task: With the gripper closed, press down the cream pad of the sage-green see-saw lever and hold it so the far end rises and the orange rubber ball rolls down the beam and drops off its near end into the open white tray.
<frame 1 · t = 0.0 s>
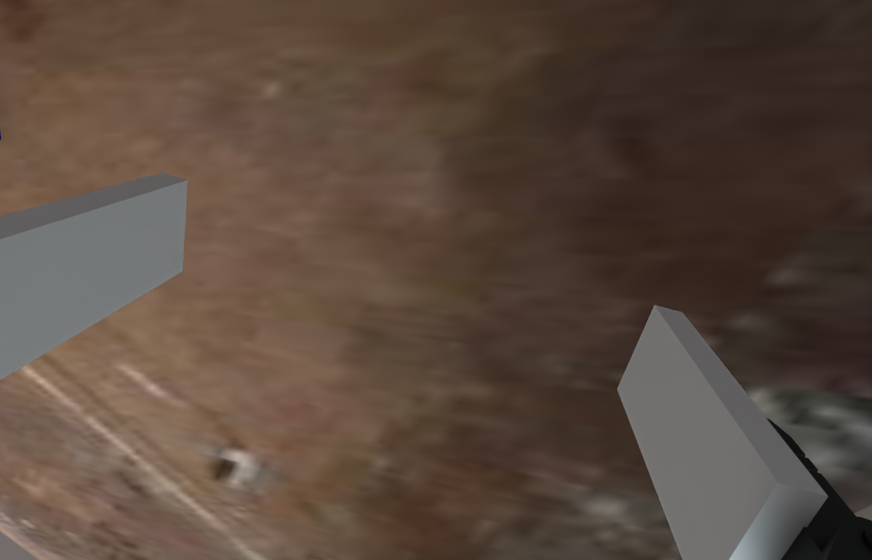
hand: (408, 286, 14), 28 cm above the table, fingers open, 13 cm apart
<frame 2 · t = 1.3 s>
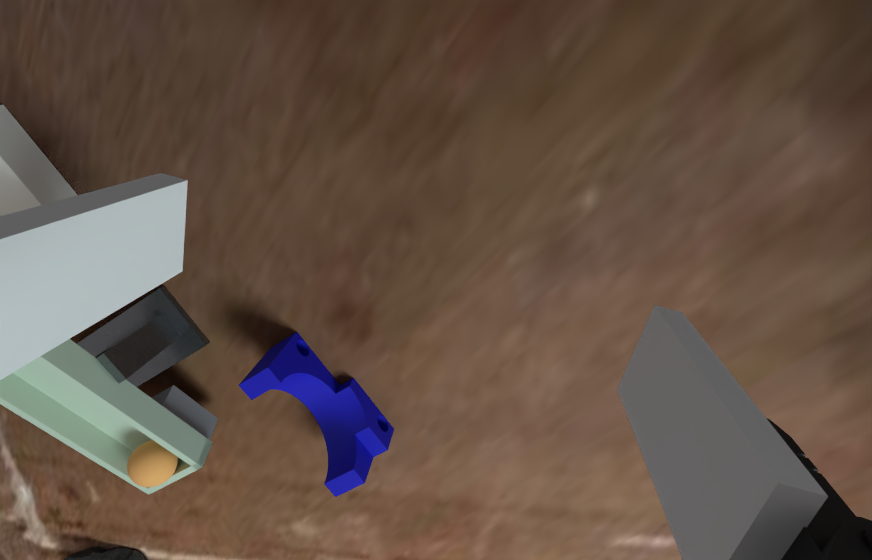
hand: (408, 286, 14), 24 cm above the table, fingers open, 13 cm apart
pivot stand: (142, 342, 45), on the table
cable clip: (334, 386, 45), on the table
open white tray: (15, 193, 42), on the table
lever: (119, 361, 38), point 7 cm above the table, hinge at 15.0°, touching ball
ball: (152, 463, 41), point 7 cm above the table, tilted 23°, touching lever
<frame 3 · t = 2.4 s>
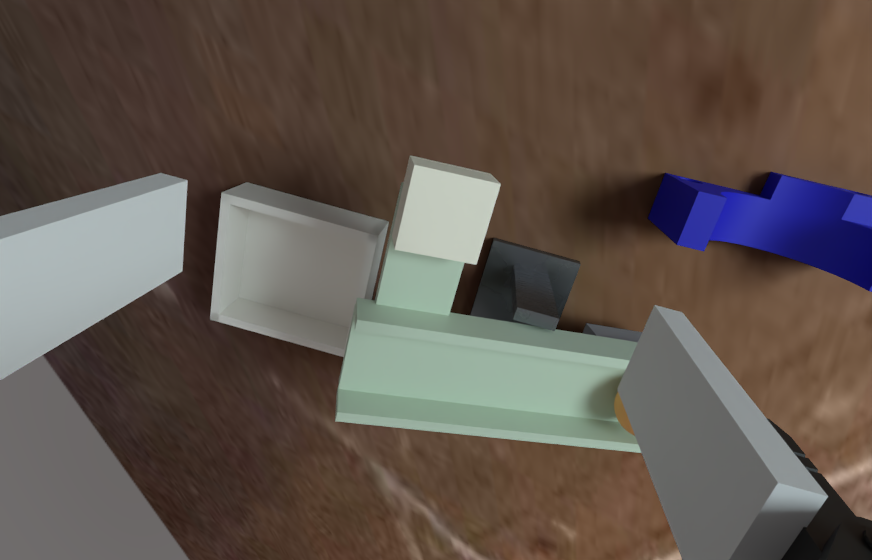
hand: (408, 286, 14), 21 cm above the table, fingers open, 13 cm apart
pivot stand: (512, 319, 37), on the table
cable clip: (752, 205, 33), on the table
open white tray: (307, 262, 37), on the table
lever: (535, 310, 29), point 7 cm above the table, hinge at 15.0°, touching ball
ball: (645, 407, 30), point 7 cm above the table, tilted 23°, touching lever
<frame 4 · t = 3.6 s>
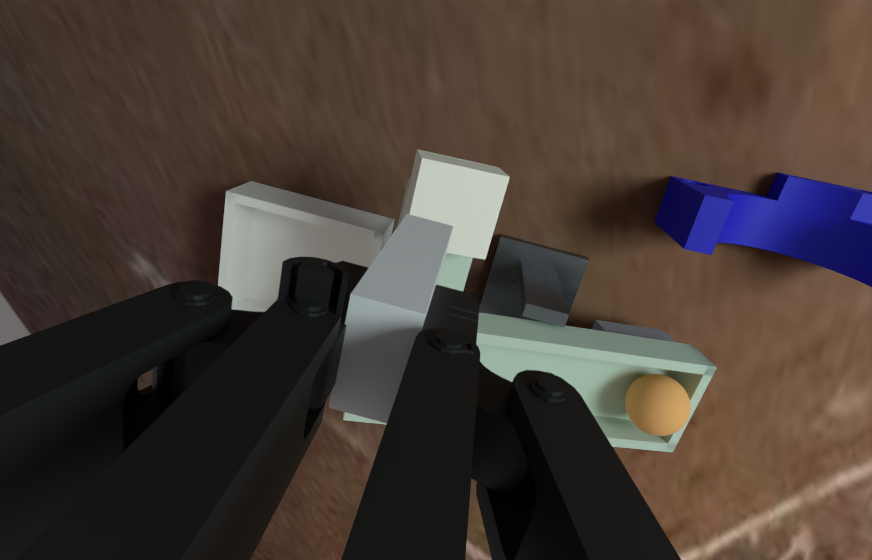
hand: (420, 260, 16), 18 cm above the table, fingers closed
pivot stand: (519, 317, 37), on the table
cable clip: (759, 206, 33), on the table
open white tray: (312, 261, 37), on the table
lever: (544, 306, 29), point 7 cm above the table, hinge at 15.0°, touching ball
ball: (657, 404, 30), point 7 cm above the table, tilted 23°, touching lever
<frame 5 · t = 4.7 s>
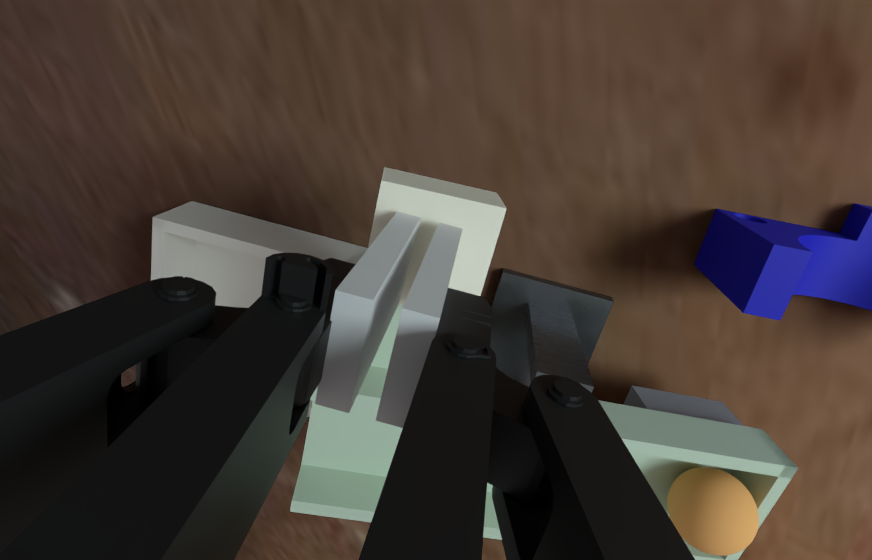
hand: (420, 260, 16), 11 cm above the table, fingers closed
pivot stand: (526, 367, 30), on the table
cable clip: (827, 245, 26), on the table
open white tray: (271, 298, 30), on the table
lever: (560, 373, 22), point 7 cm above the table, hinge at 9.5°, touching ball, gripper
ball: (711, 509, 22), point 8 cm above the table, tilted 17°, touching lever
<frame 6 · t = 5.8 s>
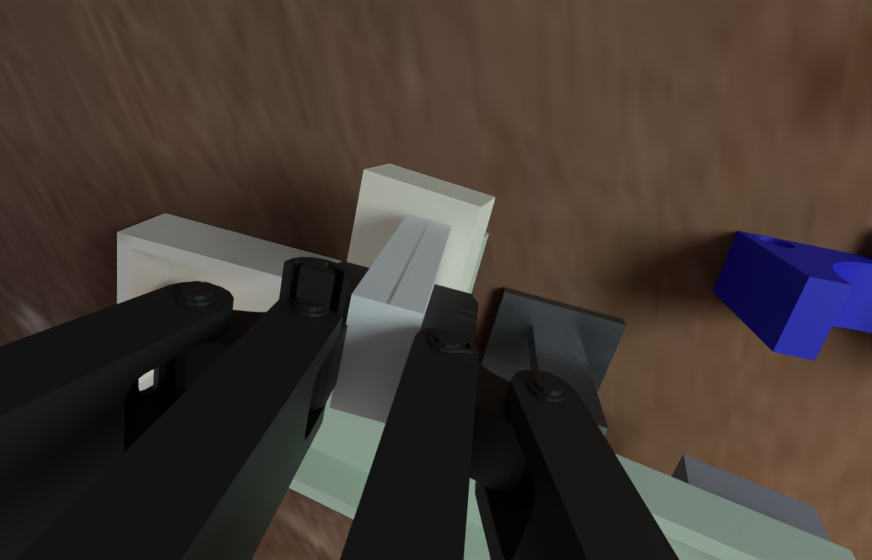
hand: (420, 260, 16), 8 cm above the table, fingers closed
pivot stand: (529, 394, 27), on the table
cable clip: (860, 270, 23), on the table
open white tray: (252, 318, 28), on the table
lever: (571, 412, 20), point 7 cm above the table, hinge at -12.5°, touching gripper
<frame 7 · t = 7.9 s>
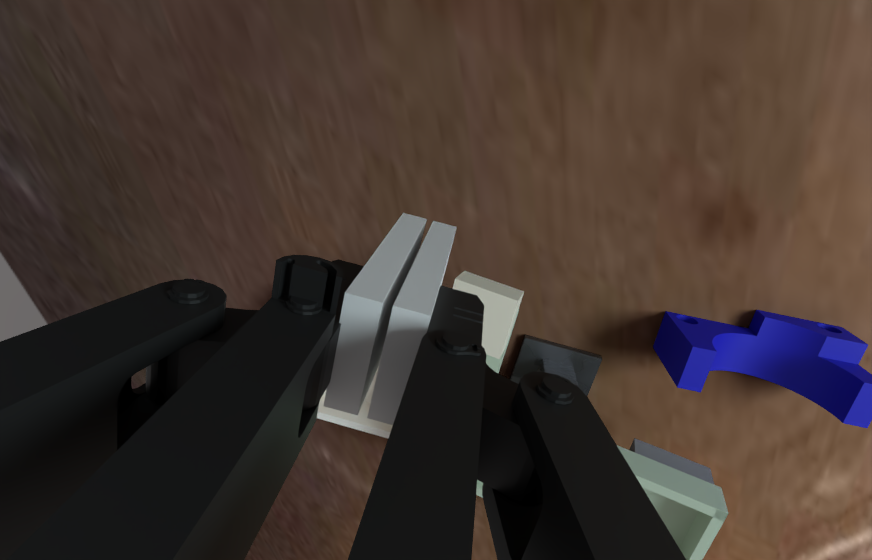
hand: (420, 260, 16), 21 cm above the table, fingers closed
pivot stand: (540, 404, 42), on the table
cable clip: (742, 335, 38), on the table
open white tray: (359, 352, 42), on the table
lever: (566, 411, 34), point 7 cm above the table, hinge at -12.5°
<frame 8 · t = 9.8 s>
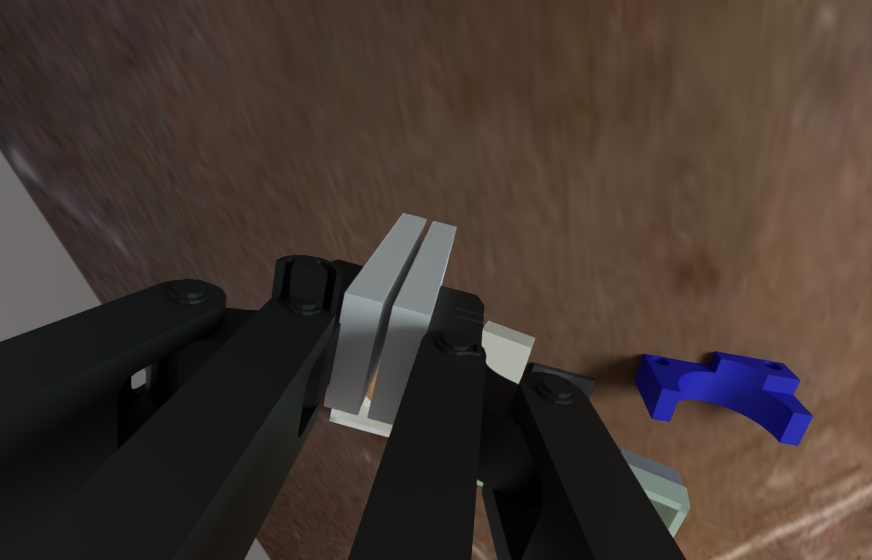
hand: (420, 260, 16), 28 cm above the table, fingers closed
pivot stand: (546, 417, 51), on the table
cable clip: (705, 370, 48), on the table
open white tray: (396, 376, 51), on the table
lever: (568, 428, 43), point 7 cm above the table, hinge at -12.5°
ball: (382, 386, 49), point 2 cm above the table, tilted 103°, touching open white tray
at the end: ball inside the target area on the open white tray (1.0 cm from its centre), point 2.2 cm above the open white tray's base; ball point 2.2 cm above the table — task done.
